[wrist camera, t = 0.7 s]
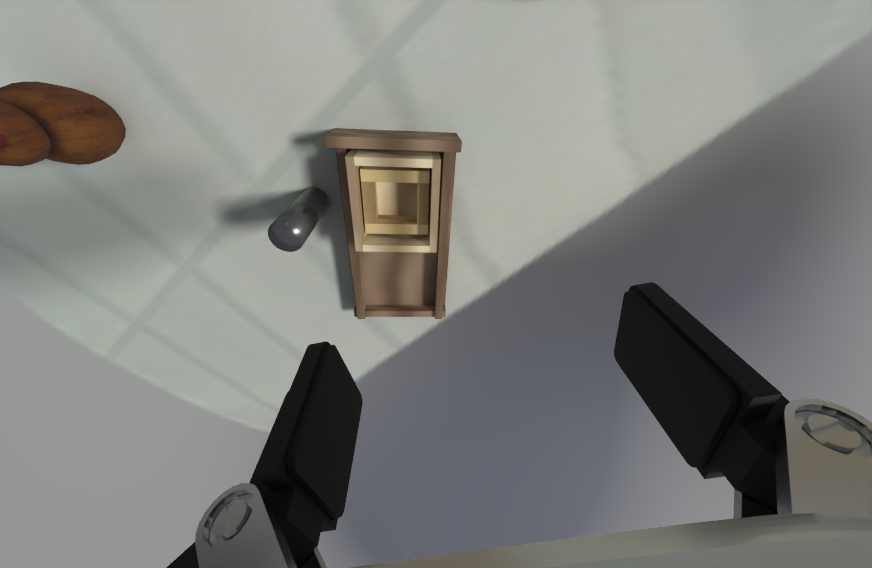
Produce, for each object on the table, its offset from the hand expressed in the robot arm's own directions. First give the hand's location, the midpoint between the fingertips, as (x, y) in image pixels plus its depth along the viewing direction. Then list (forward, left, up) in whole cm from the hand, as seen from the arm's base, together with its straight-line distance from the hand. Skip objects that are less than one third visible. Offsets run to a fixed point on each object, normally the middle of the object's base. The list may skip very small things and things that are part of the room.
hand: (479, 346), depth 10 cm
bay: (-4, -10, -30) cm, 32 cm away
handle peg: (-14, -6, -30) cm, 34 cm away
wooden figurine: (-34, +2, -30) cm, 46 cm away
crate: (-4, -4, -29) cm, 30 cm away
